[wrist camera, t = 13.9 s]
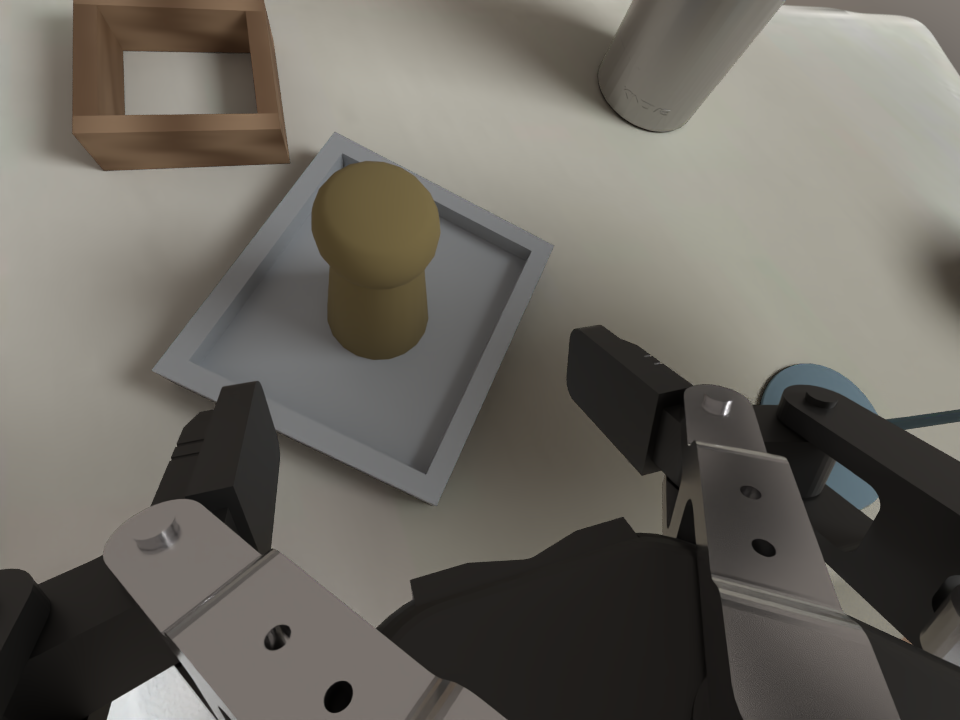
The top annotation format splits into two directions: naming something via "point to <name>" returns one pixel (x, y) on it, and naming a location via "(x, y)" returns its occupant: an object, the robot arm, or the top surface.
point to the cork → (376, 256)
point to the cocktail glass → (832, 380)
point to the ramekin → (159, 701)
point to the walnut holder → (172, 138)
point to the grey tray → (341, 374)
